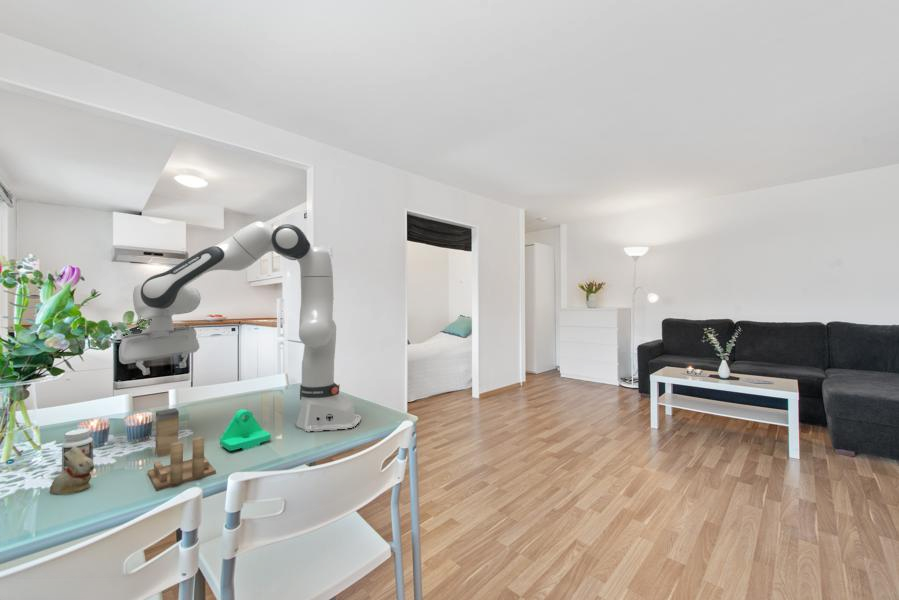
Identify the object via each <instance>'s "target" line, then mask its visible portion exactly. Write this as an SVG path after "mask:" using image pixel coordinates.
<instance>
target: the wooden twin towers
mask: <svg viewBox="0 0 899 600" xmlns="http://www.w3.org/2000/svg"><path fill="white" fill-rule="evenodd" d="M215 474H217V470H216V468H214V466H213V465H211V463H210V461H209V460H208V459H207V458H206V457H205V437H203V436H202V437H195V438H193V439H192V457H191V459H188V460H184V442H183V441H178V442H176V443H173V444H171V454H170V463H169V464H168V465H164V466H163V464H162V462H161V461H155V462H154V463H153V469H149V470H147V475H148V477H149V479H150V482H151V483H152V485H153V487H154V489H155V490H156V492H157V491H161V490H165V489H168V488H172V487H174V486H178V484H179V485H182V484H185V483H188V481H189V482H192V481H195V480H198V479H202V478H205V477H209V476H213V475H215ZM184 482H185V483H184ZM181 483H182V484H181Z"/></svg>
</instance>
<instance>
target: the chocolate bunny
mask: <svg viewBox="0 0 899 600" xmlns="http://www.w3.org/2000/svg"><path fill="white" fill-rule="evenodd" d="M63 458H64V460H65V462H66V463H67V466H68V468H67V470H66V471H65V472H61V473H59V474H58V475H57V476H56V477H54V478H53V479H54V480H53V481H52V484H51V485H50V487H49V491H50V493H51V494H52V493H53V495H59V494H60V495H71V494H76V493H80V492H83V491H86V490H88V489H89V488H90V486H91V485H90V481H91V479H92V474H91V473H92V471H93V470H94V468H95V465H94V459H93V460H92V459H91V458H88V457H86V456H85V455H84V454H83V452H82V451H81V450H80V449H79V448H78V447H72V448H71V449H70V450H69V451H68V452H66V453H64V455H63Z"/></svg>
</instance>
